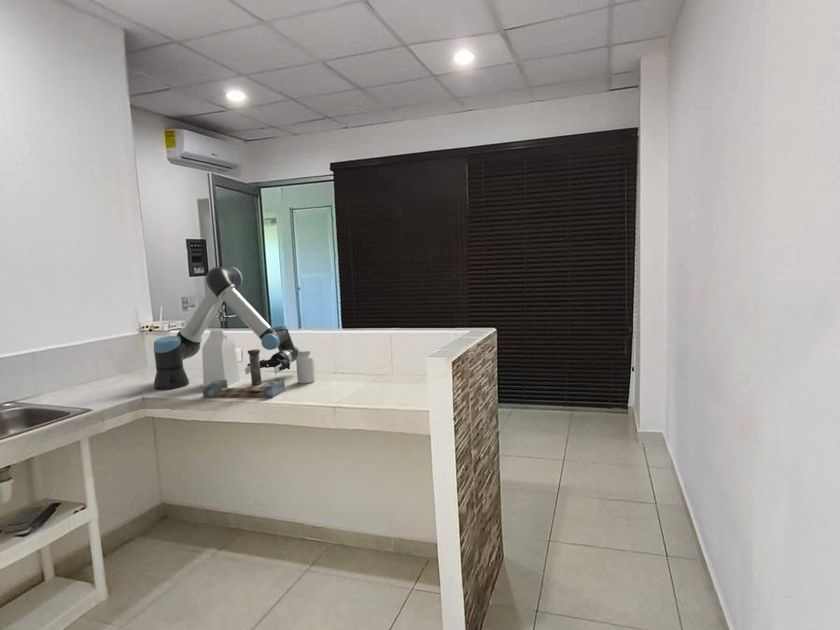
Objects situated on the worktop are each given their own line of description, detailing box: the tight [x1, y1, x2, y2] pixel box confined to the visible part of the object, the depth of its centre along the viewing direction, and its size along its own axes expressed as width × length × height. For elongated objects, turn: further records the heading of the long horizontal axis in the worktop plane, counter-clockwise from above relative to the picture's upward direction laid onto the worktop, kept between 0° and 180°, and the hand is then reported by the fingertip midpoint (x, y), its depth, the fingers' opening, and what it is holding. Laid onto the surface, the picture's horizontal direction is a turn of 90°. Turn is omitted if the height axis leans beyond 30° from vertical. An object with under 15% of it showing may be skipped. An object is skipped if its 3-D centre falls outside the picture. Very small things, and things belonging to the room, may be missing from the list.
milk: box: [201, 329, 241, 387], centre depth 242 cm, size 12×12×26 cm
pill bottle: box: [295, 349, 316, 384], centre depth 238 cm, size 8×8×15 cm
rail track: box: [202, 378, 286, 399], centre depth 221 cm, size 32×12×6 cm, turn 81°
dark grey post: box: [244, 349, 270, 391], centre depth 219 cm, size 7×8×17 cm
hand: (260, 370), depth 222 cm, fingers open, 13 cm apart
